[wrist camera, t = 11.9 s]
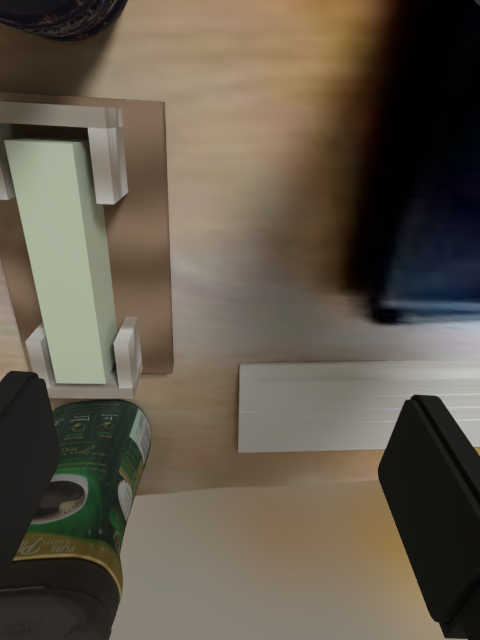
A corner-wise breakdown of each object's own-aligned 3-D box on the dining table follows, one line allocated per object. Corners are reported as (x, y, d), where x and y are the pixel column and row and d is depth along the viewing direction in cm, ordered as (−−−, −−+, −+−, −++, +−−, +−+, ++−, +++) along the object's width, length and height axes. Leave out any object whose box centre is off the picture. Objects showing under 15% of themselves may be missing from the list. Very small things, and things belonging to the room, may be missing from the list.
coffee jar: (66, 459, 40) (-41, 700, 23) (42, 399, 36) (-104, 638, 20) (159, 451, 40) (118, 686, 23) (145, 391, 36) (86, 620, 20)
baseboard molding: (239, 345, 35) (237, 441, 41) (241, 364, 32) (238, 463, 38) (564, 342, 37) (518, 434, 42) (590, 359, 34) (537, 455, 40)
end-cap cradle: (-28, 90, 24) (-90, 84, 19) (164, 102, 25) (152, 99, 20) (36, 361, 34) (6, 402, 29) (173, 363, 35) (166, 404, 30)
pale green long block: (39, 136, 24) (4, 140, 20) (95, 139, 24) (72, 143, 20) (76, 349, 32) (56, 383, 28) (119, 350, 32) (105, 383, 28)
